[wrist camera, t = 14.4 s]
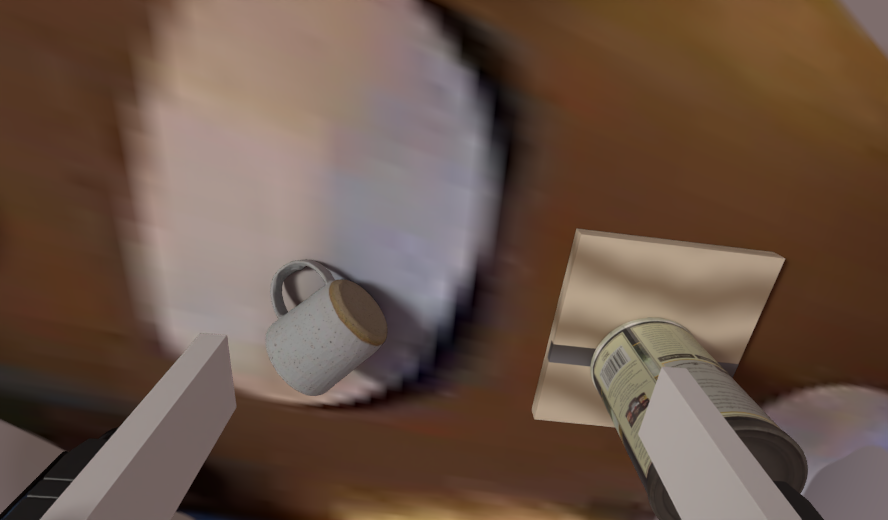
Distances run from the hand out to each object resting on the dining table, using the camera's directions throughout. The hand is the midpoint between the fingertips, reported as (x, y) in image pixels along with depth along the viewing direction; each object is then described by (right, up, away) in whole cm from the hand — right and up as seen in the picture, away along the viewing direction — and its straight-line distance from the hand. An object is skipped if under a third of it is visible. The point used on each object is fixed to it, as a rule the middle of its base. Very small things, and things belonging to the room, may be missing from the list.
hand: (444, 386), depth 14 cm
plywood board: (+19, -4, +30) cm, 36 cm away
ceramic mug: (-11, 0, +29) cm, 31 cm away
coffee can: (+19, -6, +30) cm, 36 cm away
